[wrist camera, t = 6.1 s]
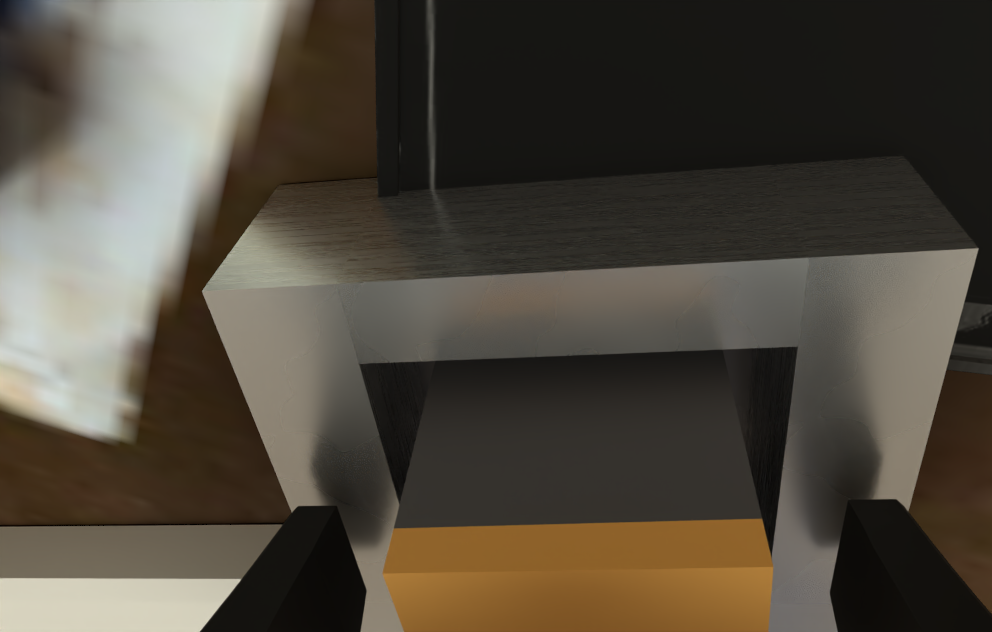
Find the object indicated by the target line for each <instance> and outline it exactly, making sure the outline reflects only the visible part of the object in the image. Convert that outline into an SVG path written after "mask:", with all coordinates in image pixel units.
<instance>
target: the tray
mask: <svg viewBox="0 0 992 632" xmlns="http://www.w3.org/2000/svg"><path fill="white" fill-rule="evenodd" d="M281 526H282V525H157V526H30V527H0V632H200V631H201V629H202V628H203V627H204V626H205V624H206V623H207V622H208V621H209V619H210V618H211V617H212V616H213V614H214V613H215V612H216V611H217V609H218V608H219V607H220V606H221V604H222V603H223V602H224V601H225V599H226V598H227V597H228V596H229V594H230V593H231V592H232V591H233V589H234V588H235V587H236V586H237V584H238V583H239V582H240V580H241V579H242V578H243V576H244V575H245V574H246V572H247V571H248V570H249V569H250V567H251V566H252V565H253V563H254V562H255V561H256V559H257V558H258V557H259V555H260V554H261V553H262V551H263V550H264V549H265V547H266V546H267V545H268V544H269V542H270V541H271V540H272V538H273V537H274V536H275V534H276V533H277V532H278V530H279V529H280V528H281Z"/></svg>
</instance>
